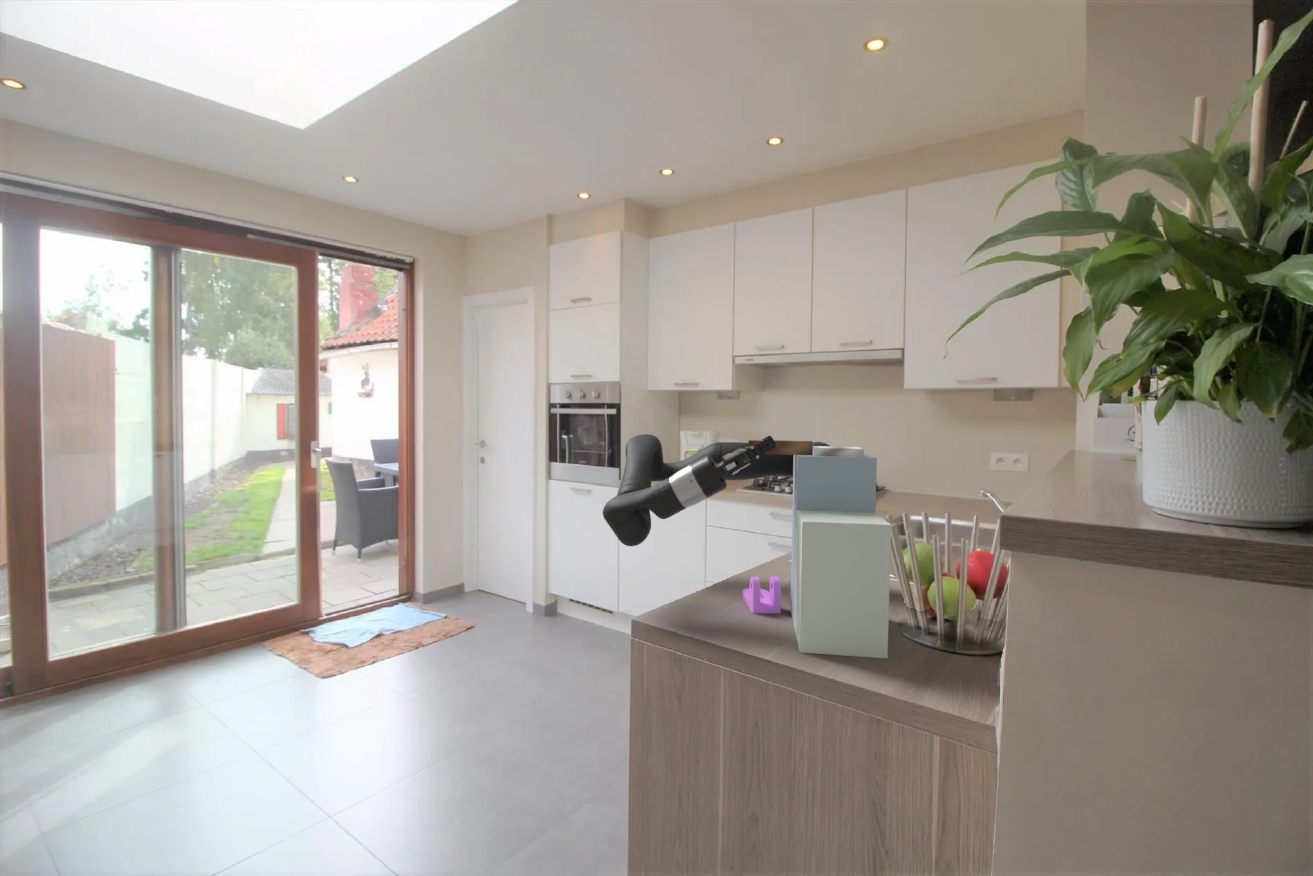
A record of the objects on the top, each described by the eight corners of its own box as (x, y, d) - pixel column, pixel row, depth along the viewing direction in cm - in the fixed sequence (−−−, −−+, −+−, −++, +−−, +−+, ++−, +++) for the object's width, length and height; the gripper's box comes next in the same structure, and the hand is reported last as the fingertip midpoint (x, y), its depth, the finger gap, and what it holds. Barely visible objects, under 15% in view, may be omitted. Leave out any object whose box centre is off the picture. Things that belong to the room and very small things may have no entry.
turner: (748, 454, 113) (748, 440, 112) (748, 452, 119) (748, 439, 119) (863, 457, 109) (864, 442, 109) (856, 454, 116) (857, 441, 116)
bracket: (780, 614, 119) (781, 579, 118) (752, 614, 118) (753, 579, 118) (765, 594, 132) (766, 563, 131) (740, 594, 131) (741, 563, 131)
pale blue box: (799, 652, 99) (803, 461, 98) (790, 609, 121) (793, 452, 120) (887, 658, 97) (892, 463, 96) (861, 614, 119) (866, 454, 117)
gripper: (684, 468, 111) (765, 424, 108) (691, 462, 125) (763, 423, 122) (704, 503, 110) (785, 460, 108) (709, 493, 125) (781, 454, 122)
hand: (773, 440), depth 115 cm, fingers open, 5 cm apart
